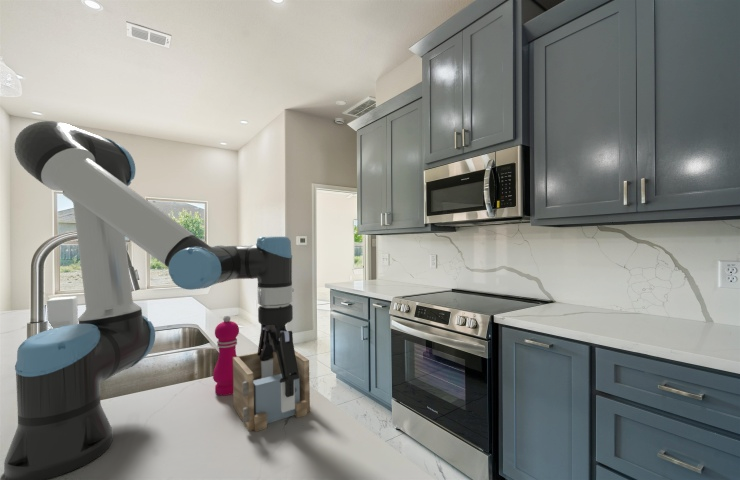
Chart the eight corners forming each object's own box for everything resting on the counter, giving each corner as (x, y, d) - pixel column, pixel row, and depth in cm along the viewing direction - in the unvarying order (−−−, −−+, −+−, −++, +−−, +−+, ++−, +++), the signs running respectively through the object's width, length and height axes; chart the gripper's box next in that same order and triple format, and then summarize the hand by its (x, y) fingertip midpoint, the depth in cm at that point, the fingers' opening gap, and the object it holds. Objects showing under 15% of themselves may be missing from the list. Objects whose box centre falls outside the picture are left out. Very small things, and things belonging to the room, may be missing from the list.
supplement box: (78, 327, 164) (78, 295, 163) (74, 331, 156) (73, 298, 156) (53, 329, 159) (52, 297, 159) (47, 334, 151) (46, 300, 151)
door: (257, 429, 74) (256, 386, 73) (252, 421, 77) (251, 380, 77) (301, 414, 79) (300, 375, 79) (294, 408, 82) (294, 370, 82)
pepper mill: (232, 397, 88) (230, 319, 88) (207, 395, 90) (205, 318, 90) (247, 385, 95) (246, 313, 95) (224, 383, 97) (223, 312, 97)
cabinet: (245, 434, 71) (244, 376, 71) (229, 407, 83) (228, 357, 83) (311, 413, 80) (310, 361, 80) (289, 391, 91) (288, 346, 91)
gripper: (314, 311, 70) (316, 415, 70) (273, 295, 91) (274, 376, 91) (278, 316, 66) (280, 427, 66) (243, 298, 86) (245, 383, 87)
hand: (276, 398), depth 78 cm, fingers open, 13 cm apart
